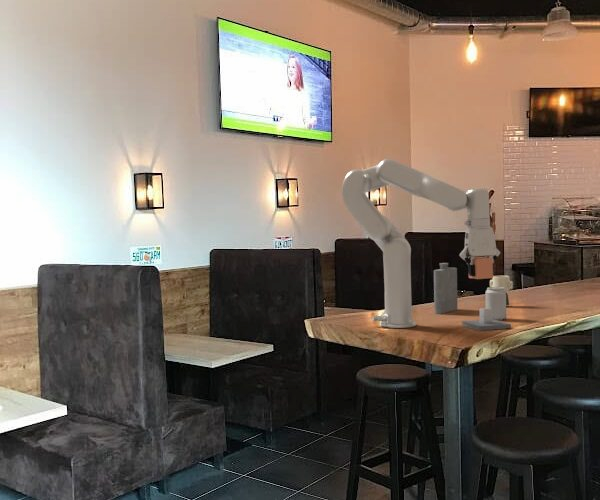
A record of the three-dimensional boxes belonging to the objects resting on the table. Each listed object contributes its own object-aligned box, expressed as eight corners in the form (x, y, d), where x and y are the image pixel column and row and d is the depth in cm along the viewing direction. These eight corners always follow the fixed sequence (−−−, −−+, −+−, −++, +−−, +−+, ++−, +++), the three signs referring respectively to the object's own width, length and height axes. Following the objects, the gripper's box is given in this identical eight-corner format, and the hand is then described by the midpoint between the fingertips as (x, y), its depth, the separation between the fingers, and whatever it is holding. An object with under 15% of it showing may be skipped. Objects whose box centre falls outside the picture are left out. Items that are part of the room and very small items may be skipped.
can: (491, 321, 237) (491, 288, 237) (482, 318, 245) (481, 286, 244) (510, 320, 239) (509, 287, 238) (500, 317, 246) (499, 286, 246)
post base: (479, 330, 218) (478, 311, 218) (462, 325, 230) (461, 307, 230) (510, 328, 221) (510, 309, 221) (492, 323, 233) (492, 305, 232)
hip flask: (440, 314, 258) (439, 264, 257) (431, 313, 260) (430, 264, 260) (458, 309, 270) (458, 261, 269) (450, 308, 272) (449, 261, 272)
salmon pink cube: (477, 279, 223) (476, 258, 222) (468, 277, 229) (468, 258, 228) (493, 277, 224) (492, 257, 224) (483, 276, 230) (483, 257, 230)
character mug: (517, 306, 274) (517, 276, 273) (508, 308, 269) (507, 277, 268) (494, 304, 282) (494, 274, 281) (485, 306, 277) (485, 276, 277)
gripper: (461, 225, 220) (464, 277, 221) (506, 222, 224) (508, 274, 225) (451, 225, 227) (453, 276, 228) (494, 223, 231) (496, 273, 232)
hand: (480, 274), depth 226 cm, fingers closed on salmon pink cube, 6 cm apart
